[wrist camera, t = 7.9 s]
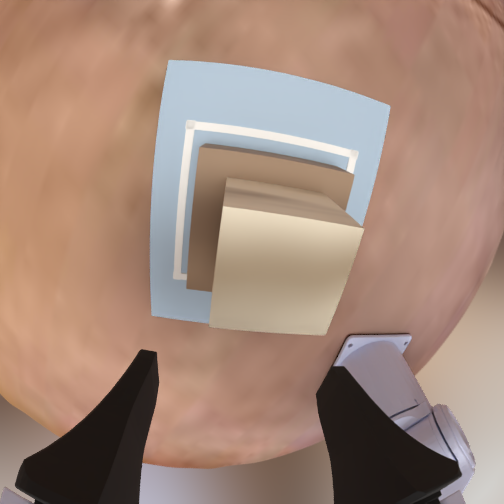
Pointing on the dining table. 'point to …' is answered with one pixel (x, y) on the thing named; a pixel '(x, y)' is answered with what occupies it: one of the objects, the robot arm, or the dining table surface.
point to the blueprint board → (250, 137)
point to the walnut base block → (253, 169)
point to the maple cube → (280, 259)
